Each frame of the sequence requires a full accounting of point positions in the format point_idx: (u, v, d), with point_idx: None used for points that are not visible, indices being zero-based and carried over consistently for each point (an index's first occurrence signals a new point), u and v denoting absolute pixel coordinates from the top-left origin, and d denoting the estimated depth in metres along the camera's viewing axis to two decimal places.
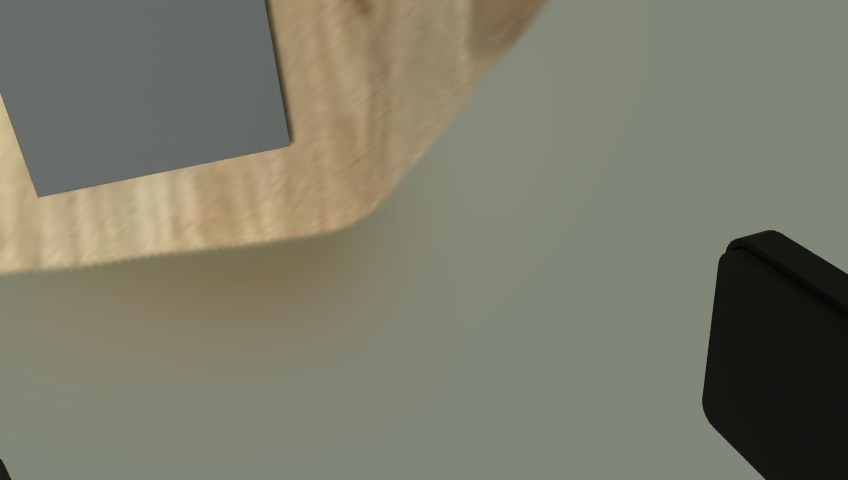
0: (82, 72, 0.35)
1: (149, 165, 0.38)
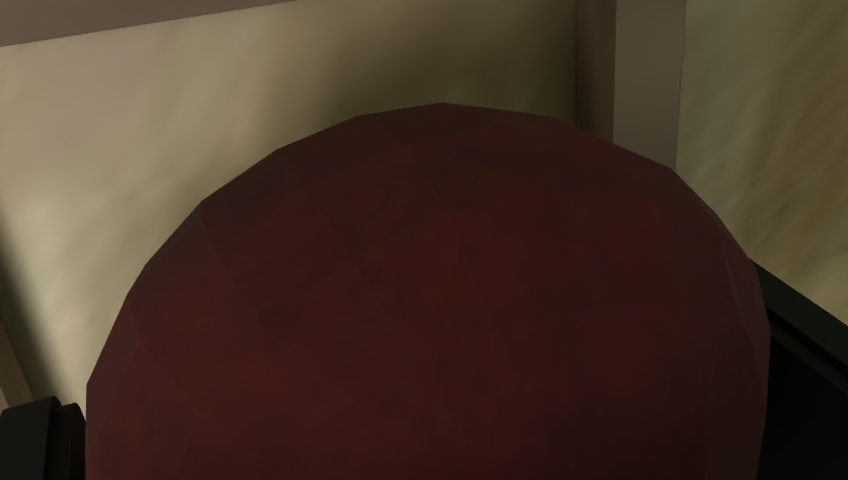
0: None
1: None
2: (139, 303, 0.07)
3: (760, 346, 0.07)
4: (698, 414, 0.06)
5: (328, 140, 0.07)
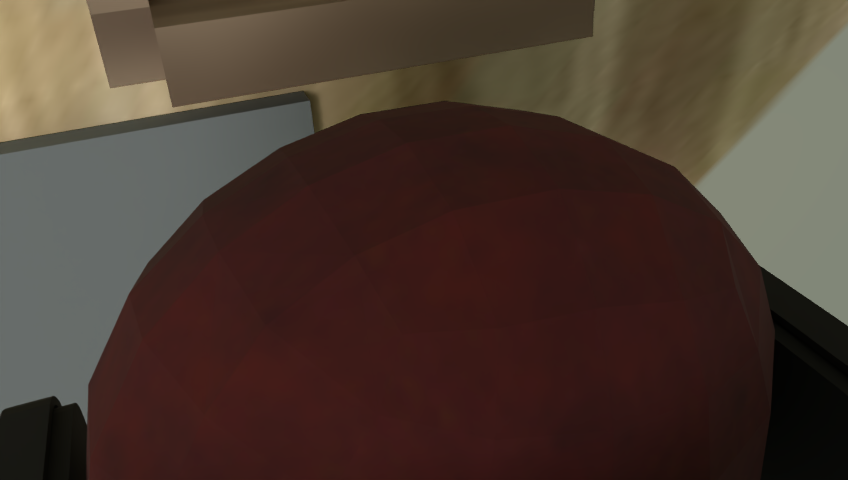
0: (77, 342, 0.25)
1: None
2: (141, 302, 0.07)
3: (764, 345, 0.07)
4: (701, 413, 0.06)
5: (330, 138, 0.07)
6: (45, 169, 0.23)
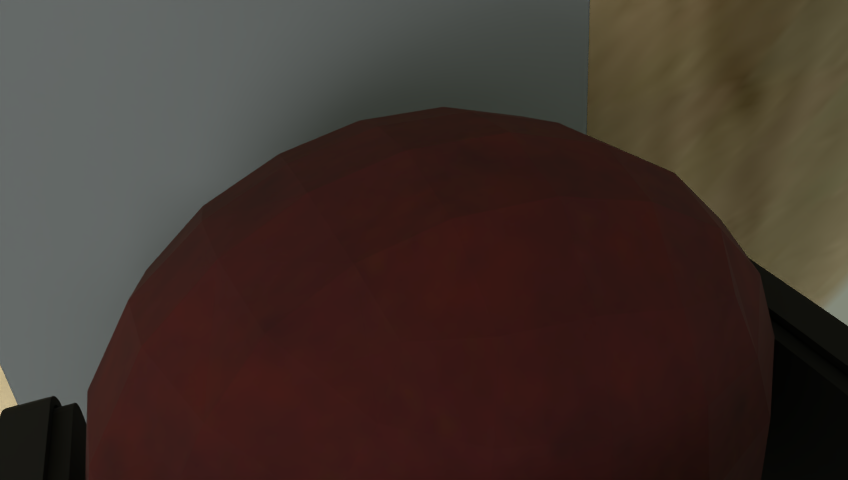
0: None
1: None
2: (140, 309, 0.07)
3: (764, 352, 0.07)
4: (701, 421, 0.06)
5: (330, 145, 0.07)
6: None
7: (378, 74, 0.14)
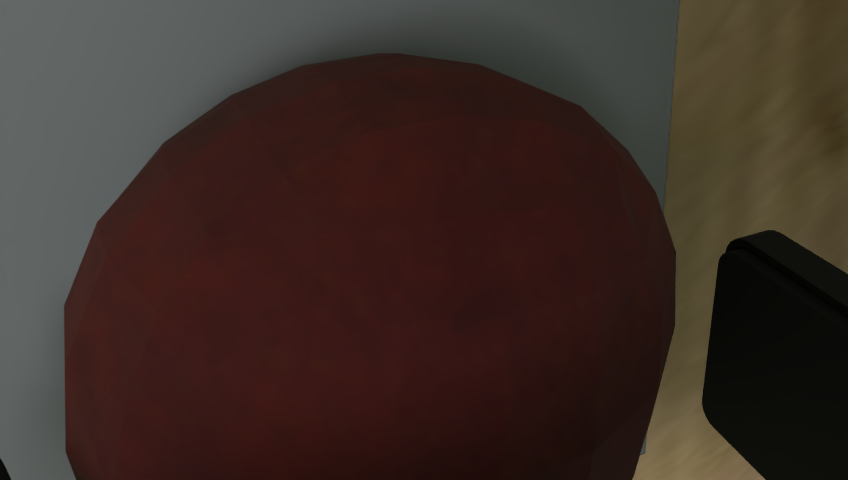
0: None
1: None
2: (106, 227, 0.08)
3: (656, 258, 0.08)
4: (587, 307, 0.07)
5: (272, 83, 0.08)
6: None
7: None
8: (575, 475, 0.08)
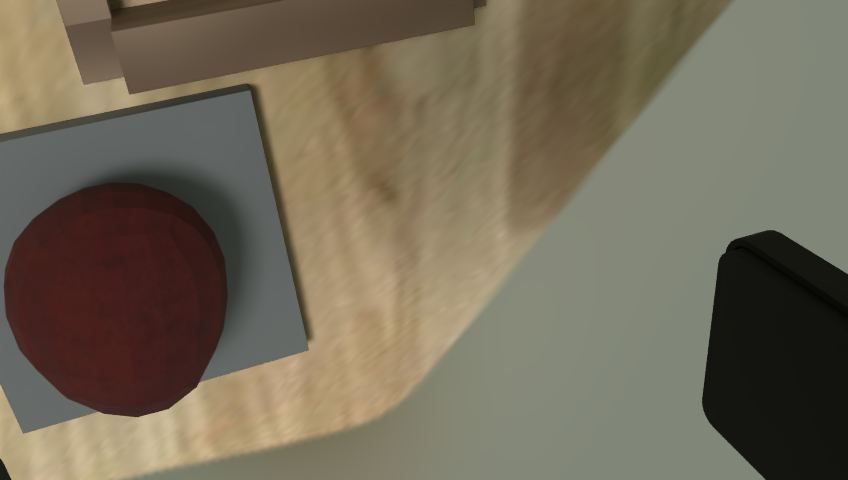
0: None
1: None
2: (15, 243, 0.26)
3: (189, 248, 0.26)
4: (151, 262, 0.25)
5: (68, 196, 0.27)
6: (35, 153, 0.28)
7: None
8: (157, 315, 0.26)
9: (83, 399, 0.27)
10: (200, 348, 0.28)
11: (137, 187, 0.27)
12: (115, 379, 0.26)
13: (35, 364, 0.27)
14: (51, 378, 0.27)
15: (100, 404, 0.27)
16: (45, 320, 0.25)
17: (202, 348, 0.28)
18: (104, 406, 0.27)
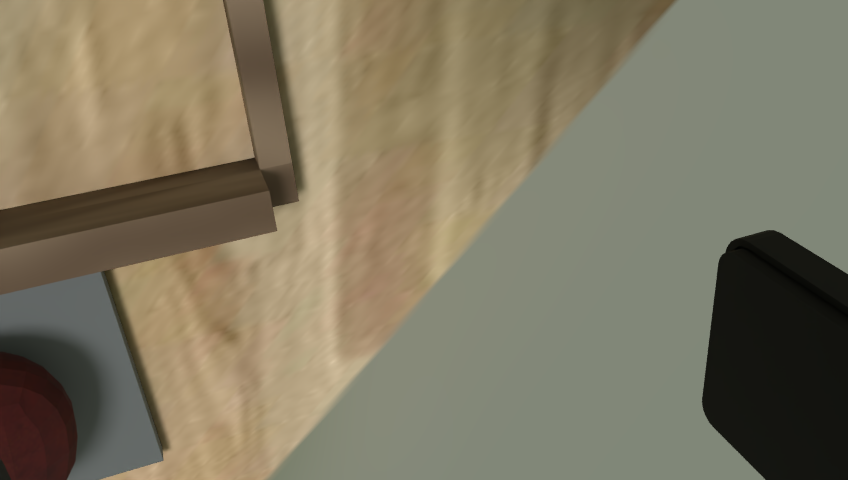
0: None
1: None
2: None
3: (36, 413, 0.33)
4: (2, 429, 0.32)
5: None
6: None
7: (25, 356, 0.37)
8: (8, 467, 0.33)
9: None
10: None
11: None
12: None
13: None
14: None
15: None
16: None
17: None
18: None
